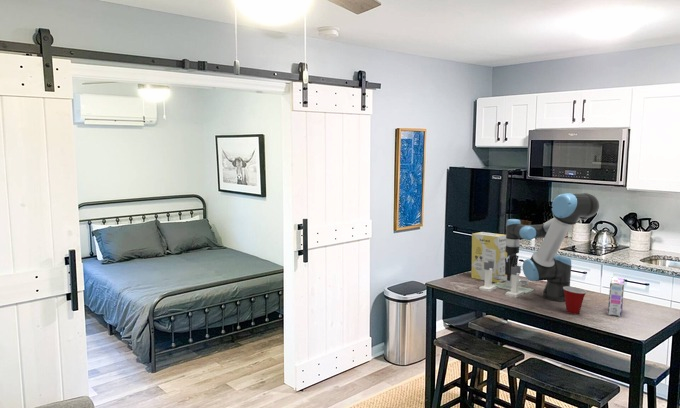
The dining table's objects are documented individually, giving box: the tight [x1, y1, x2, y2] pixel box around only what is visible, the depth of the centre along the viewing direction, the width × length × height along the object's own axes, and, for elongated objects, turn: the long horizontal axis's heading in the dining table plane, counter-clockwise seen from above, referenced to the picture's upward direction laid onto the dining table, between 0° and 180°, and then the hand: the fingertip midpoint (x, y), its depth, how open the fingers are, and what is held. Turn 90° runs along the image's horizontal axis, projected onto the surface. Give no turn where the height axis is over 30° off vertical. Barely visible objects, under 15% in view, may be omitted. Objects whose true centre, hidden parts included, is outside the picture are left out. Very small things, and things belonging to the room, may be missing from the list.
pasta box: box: [471, 231, 508, 283], centre depth 310 cm, size 18×10×28 cm, turn 41°
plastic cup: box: [563, 286, 588, 315], centre depth 249 cm, size 11×11×12 cm
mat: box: [492, 282, 535, 295], centre depth 292 cm, size 22×10×1 cm, turn 47°
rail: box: [493, 274, 530, 286], centre depth 292 cm, size 20×3×3 cm, turn 47°
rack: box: [478, 261, 525, 298], centre depth 283 cm, size 22×10×16 cm, turn 47°
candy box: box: [607, 276, 625, 318], centre depth 249 cm, size 14×6×16 cm, turn 148°
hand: (510, 285), depth 292 cm, fingers open, 3 cm apart
